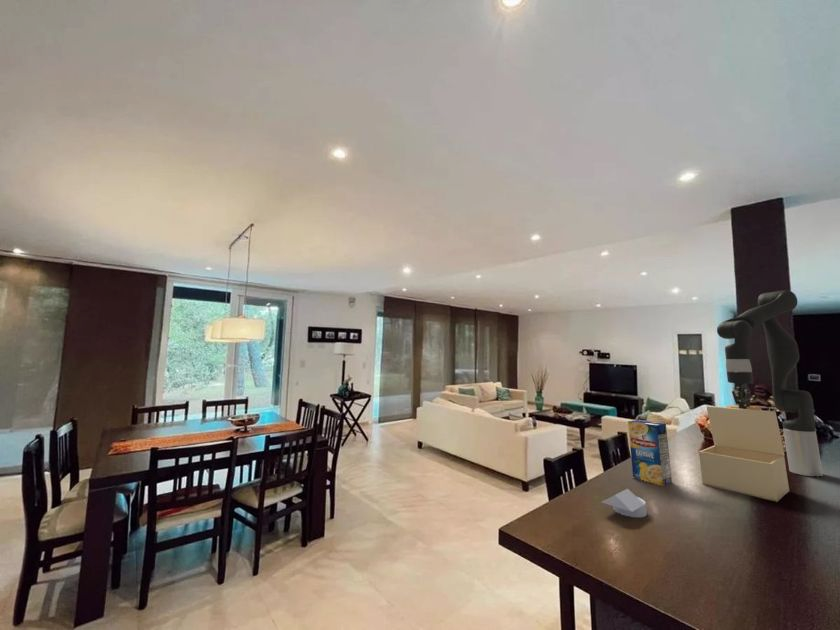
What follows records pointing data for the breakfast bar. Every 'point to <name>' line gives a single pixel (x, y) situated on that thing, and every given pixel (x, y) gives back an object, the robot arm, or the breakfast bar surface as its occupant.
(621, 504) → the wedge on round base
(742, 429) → the lid flap
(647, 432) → the blue cardboard box
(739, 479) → the carton
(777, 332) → the robot arm
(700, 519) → the breakfast bar surface
